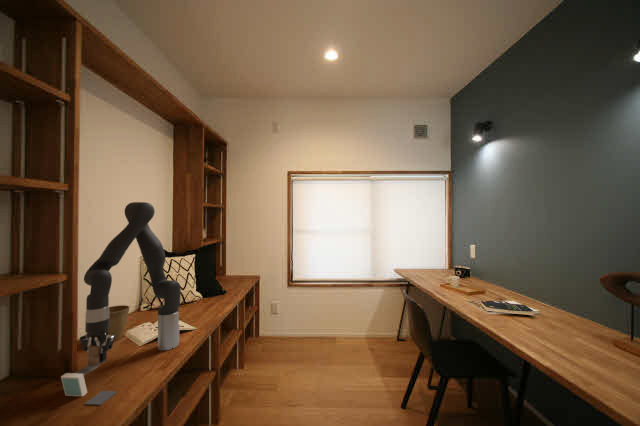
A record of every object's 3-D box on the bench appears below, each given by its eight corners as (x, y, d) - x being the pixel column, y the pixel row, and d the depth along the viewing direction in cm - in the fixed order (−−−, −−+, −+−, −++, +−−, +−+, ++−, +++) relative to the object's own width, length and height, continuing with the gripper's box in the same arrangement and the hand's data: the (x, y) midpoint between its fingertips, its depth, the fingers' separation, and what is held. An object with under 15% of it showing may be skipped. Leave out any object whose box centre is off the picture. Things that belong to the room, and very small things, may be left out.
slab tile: (70, 391, 102) (65, 373, 100) (87, 392, 101) (83, 373, 100) (65, 395, 100) (60, 377, 98) (82, 396, 99) (77, 377, 98)
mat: (102, 391, 102) (102, 390, 102) (117, 392, 101) (117, 391, 101) (84, 404, 95) (84, 403, 95) (100, 405, 94) (100, 404, 94)
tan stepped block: (96, 361, 111) (97, 341, 112) (106, 361, 111) (106, 342, 111) (69, 377, 100) (69, 355, 101) (80, 377, 100) (80, 355, 100)
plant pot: (130, 339, 147) (130, 309, 147) (95, 347, 137) (94, 316, 138) (128, 330, 158) (128, 303, 159) (95, 337, 149) (95, 308, 149)
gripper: (121, 315, 113) (121, 357, 112) (90, 314, 114) (90, 355, 114) (105, 322, 105) (105, 367, 105) (72, 321, 107) (72, 365, 106)
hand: (97, 361), depth 109 cm, fingers closed on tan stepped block, 4 cm apart
